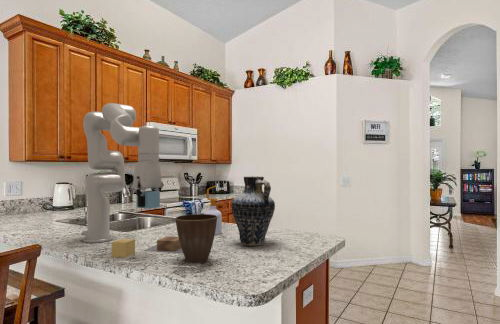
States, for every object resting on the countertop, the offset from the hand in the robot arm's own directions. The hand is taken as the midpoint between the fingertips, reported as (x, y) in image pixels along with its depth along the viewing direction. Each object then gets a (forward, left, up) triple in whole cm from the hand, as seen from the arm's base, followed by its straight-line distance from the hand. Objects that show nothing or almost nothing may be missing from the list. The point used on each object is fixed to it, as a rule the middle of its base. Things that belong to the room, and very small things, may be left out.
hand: (148, 205), depth 123 cm
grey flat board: (+4, +11, -19) cm, 23 cm away
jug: (+35, +29, -20) cm, 49 cm away
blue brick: (0, 0, -1) cm, 1 cm away
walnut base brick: (+4, +11, -19) cm, 22 cm away
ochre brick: (-9, -2, -20) cm, 22 cm away
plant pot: (+21, -2, -20) cm, 28 cm away
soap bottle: (+9, +47, -20) cm, 52 cm away
